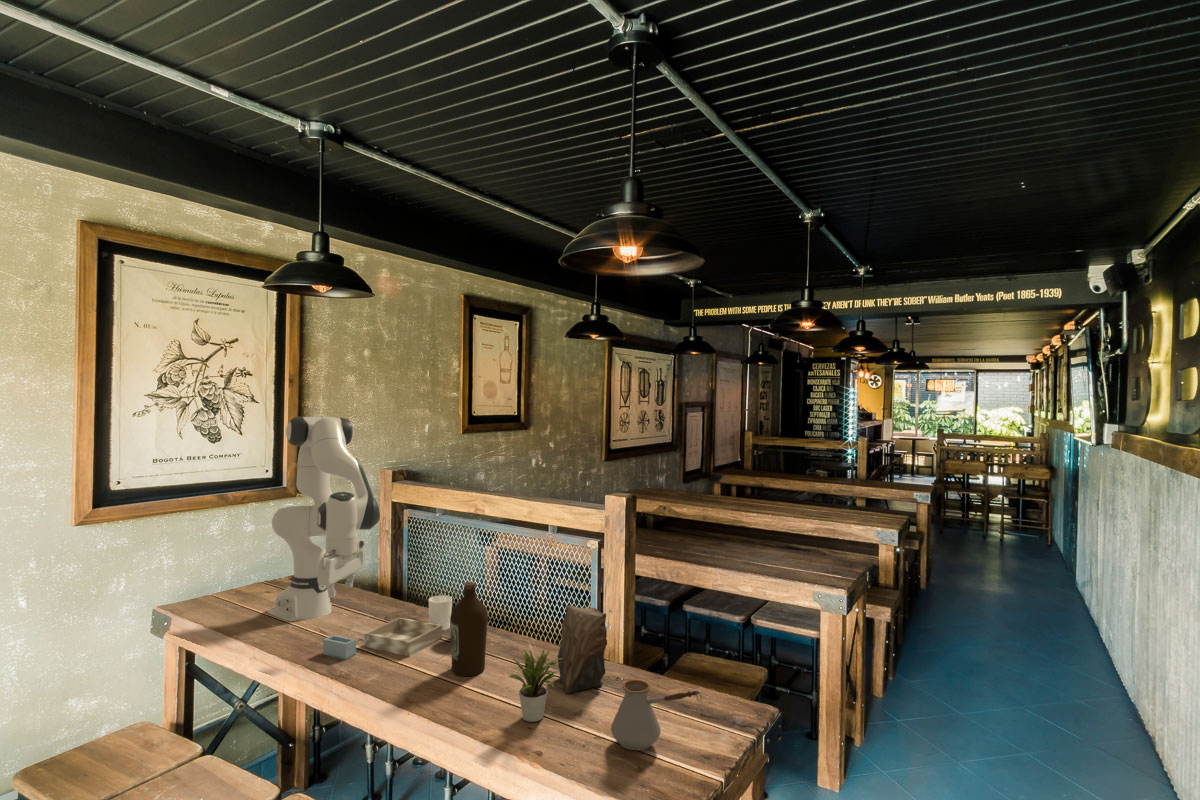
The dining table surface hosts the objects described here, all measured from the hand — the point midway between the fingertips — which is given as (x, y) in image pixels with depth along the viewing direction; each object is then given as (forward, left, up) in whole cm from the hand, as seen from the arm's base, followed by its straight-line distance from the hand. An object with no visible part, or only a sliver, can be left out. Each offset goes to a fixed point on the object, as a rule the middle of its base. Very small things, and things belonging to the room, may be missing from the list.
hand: (340, 592), depth 189 cm
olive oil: (+41, +8, -20) cm, 46 cm away
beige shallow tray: (+11, +16, -19) cm, 27 cm away
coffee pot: (+103, -9, -20) cm, 105 cm away
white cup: (+13, +32, -20) cm, 40 cm away
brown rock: (+74, +15, -20) cm, 78 cm away
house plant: (+72, -9, -20) cm, 75 cm away
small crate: (0, 0, -19) cm, 19 cm away
